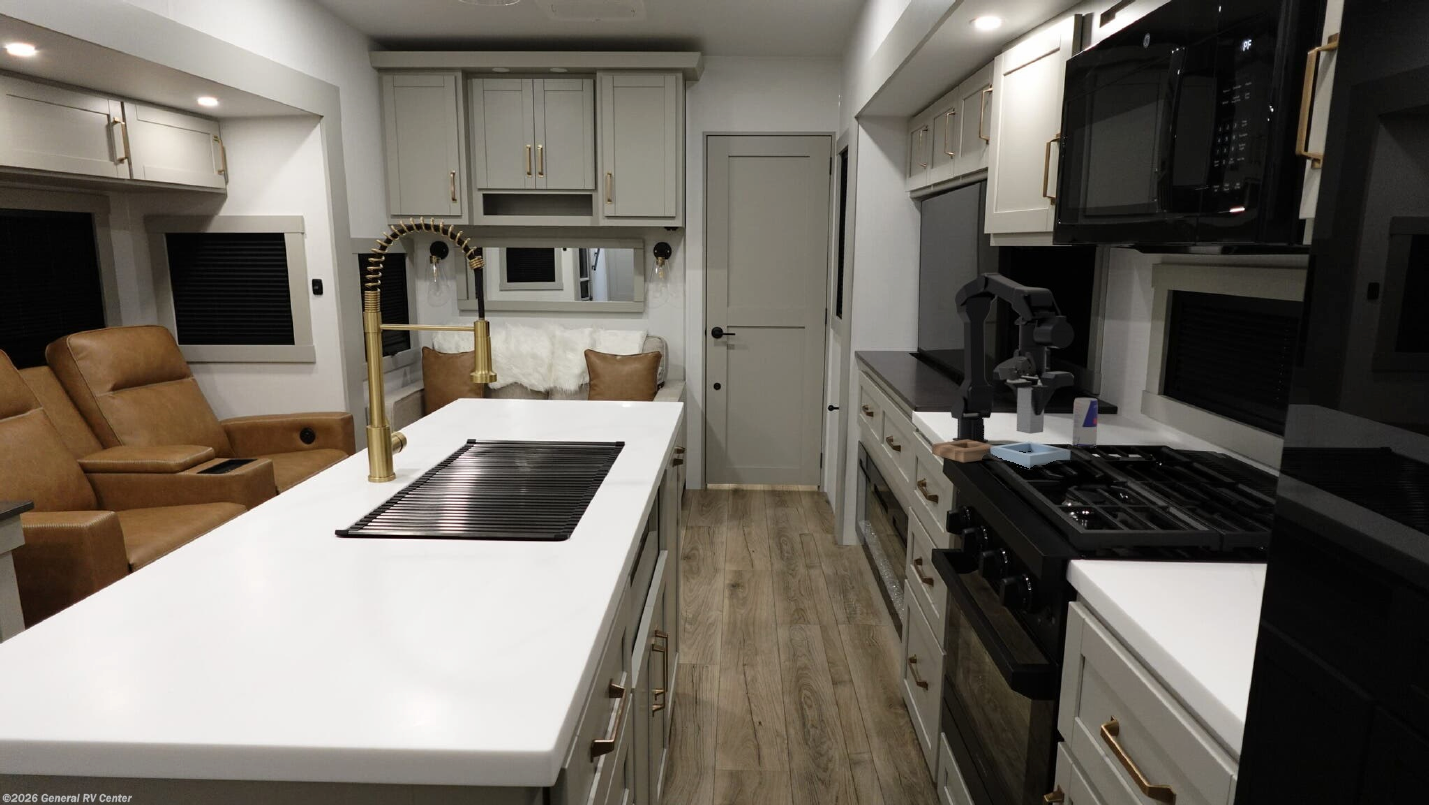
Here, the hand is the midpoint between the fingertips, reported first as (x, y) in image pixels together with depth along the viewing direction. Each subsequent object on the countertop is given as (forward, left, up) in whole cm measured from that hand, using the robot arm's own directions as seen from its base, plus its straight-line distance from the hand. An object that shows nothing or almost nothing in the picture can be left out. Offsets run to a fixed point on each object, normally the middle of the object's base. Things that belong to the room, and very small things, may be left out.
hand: (1030, 414), depth 179 cm
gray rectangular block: (0, 0, -4) cm, 4 cm away
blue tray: (0, 0, -11) cm, 11 cm away
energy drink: (-5, +23, -11) cm, 26 cm away
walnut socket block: (-12, -8, -11) cm, 18 cm away
